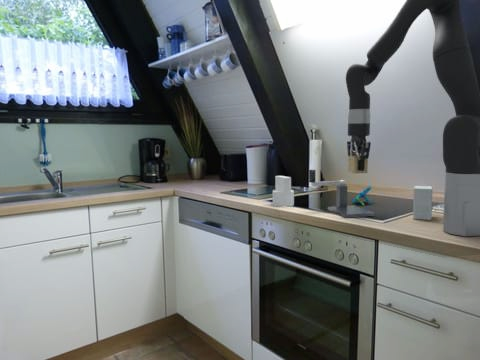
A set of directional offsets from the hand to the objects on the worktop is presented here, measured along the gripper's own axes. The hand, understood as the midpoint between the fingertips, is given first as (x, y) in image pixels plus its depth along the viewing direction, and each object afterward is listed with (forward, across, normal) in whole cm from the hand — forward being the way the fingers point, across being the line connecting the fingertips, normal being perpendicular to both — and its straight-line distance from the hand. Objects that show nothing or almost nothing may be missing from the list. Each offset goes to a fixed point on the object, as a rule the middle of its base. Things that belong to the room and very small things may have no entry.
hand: (357, 169), depth 129 cm
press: (+16, +1, +2) cm, 16 cm away
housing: (+1, 0, 0) cm, 1 cm away
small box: (+16, -12, -18) cm, 27 cm away
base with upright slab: (+17, +23, +22) cm, 36 cm away
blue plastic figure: (+17, +18, -11) cm, 27 cm away
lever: (+7, +8, +8) cm, 13 cm away
